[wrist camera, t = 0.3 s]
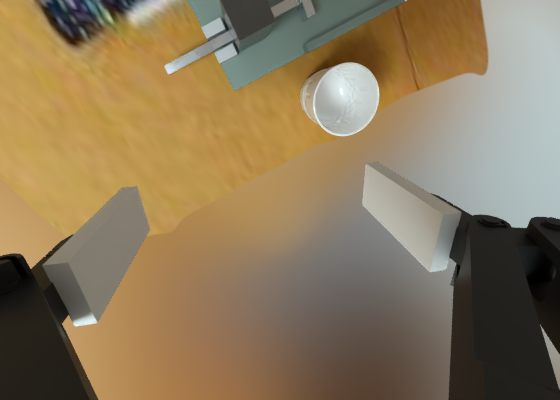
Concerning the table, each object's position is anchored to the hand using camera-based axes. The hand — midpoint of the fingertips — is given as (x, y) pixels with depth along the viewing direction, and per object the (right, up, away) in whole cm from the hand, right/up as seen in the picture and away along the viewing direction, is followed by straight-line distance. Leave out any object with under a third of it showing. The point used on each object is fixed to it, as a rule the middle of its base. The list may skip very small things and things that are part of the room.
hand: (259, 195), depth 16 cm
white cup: (+7, +15, +24) cm, 29 cm away
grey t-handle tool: (-4, +20, +17) cm, 27 cm away
